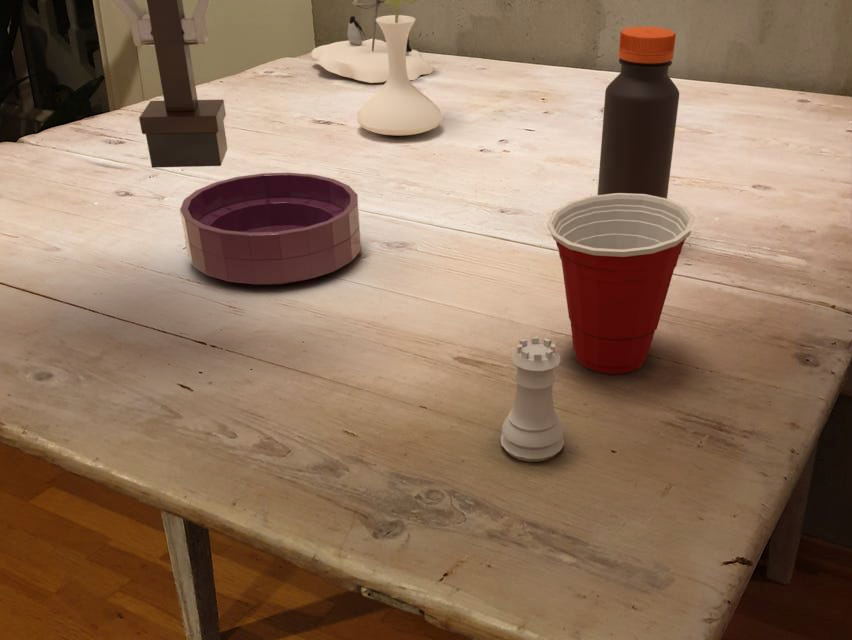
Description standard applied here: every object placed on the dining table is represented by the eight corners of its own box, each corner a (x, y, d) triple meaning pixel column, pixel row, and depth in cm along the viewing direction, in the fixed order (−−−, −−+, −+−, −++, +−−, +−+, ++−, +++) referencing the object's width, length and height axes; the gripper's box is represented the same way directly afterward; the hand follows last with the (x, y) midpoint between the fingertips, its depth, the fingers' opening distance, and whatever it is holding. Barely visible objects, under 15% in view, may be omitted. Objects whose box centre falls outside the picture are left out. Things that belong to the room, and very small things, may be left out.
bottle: (675, 243, 98) (701, 32, 86) (633, 262, 94) (655, 43, 82) (622, 225, 102) (641, 21, 90) (580, 242, 98) (594, 31, 86)
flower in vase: (410, 148, 122) (402, -75, 108) (339, 134, 127) (323, -82, 113) (465, 123, 132) (465, -86, 117) (397, 110, 136) (389, -92, 122)
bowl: (178, 295, 87) (167, 238, 84) (202, 227, 101) (193, 175, 97) (361, 288, 89) (357, 231, 86) (360, 221, 102) (357, 170, 99)
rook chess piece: (576, 450, 67) (584, 349, 63) (526, 472, 65) (530, 369, 61) (537, 421, 70) (541, 323, 66) (487, 441, 68) (488, 341, 64)
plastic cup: (522, 336, 81) (526, 198, 74) (638, 318, 84) (653, 183, 77) (571, 401, 73) (581, 252, 66) (699, 379, 75) (722, 233, 69)
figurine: (285, 61, 155) (282, -51, 145) (367, 44, 167) (369, -60, 157) (373, 97, 146) (376, -21, 136) (453, 76, 157) (462, -33, 147)
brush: (148, 168, 71) (111, -23, 63) (159, 150, 74) (125, -33, 67) (223, 167, 71) (195, -23, 64) (230, 148, 75) (205, -34, 67)
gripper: (304, -192, 64) (322, 32, 71) (-18, -194, 62) (36, 35, 70) (298, -190, 58) (318, 52, 66) (-54, -192, 57) (10, 56, 65)
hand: (171, 43), depth 68 cm, fingers closed on brush, 2 cm apart
